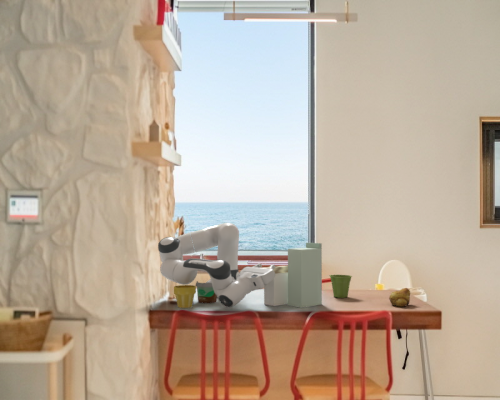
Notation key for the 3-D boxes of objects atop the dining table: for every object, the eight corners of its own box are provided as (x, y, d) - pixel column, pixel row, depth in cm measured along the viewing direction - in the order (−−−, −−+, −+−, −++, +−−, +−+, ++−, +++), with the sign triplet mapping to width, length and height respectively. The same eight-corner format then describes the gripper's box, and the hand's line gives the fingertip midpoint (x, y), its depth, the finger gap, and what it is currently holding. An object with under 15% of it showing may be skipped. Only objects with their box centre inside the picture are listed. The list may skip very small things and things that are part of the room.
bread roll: (409, 308, 239) (409, 291, 239) (387, 307, 242) (387, 290, 242) (410, 304, 251) (410, 287, 251) (390, 302, 254) (390, 286, 254)
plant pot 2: (356, 298, 268) (356, 276, 268) (336, 299, 264) (336, 277, 264) (344, 294, 279) (344, 274, 279) (325, 296, 275) (325, 274, 275)
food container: (191, 302, 253) (191, 282, 254) (196, 300, 259) (196, 281, 259) (213, 304, 249) (214, 283, 249) (219, 302, 255) (219, 282, 255)
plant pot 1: (175, 305, 248) (175, 284, 248) (197, 305, 247) (197, 284, 248) (171, 309, 237) (172, 287, 238) (194, 309, 237) (194, 287, 237)
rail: (263, 274, 243) (263, 268, 243) (259, 274, 245) (259, 267, 245) (293, 271, 256) (293, 265, 256) (289, 271, 258) (289, 265, 258)
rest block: (274, 306, 244) (273, 274, 244) (264, 304, 249) (264, 273, 250) (292, 303, 252) (291, 272, 252) (282, 301, 257) (282, 271, 258)
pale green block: (301, 307, 240) (301, 244, 240) (288, 305, 246) (287, 243, 247) (321, 304, 249) (321, 243, 249) (308, 302, 255) (308, 242, 256)
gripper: (236, 285, 248) (255, 269, 256) (265, 289, 232) (284, 272, 240) (231, 274, 246) (250, 258, 254) (259, 277, 230) (279, 260, 238)
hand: (267, 265), depth 247 cm, fingers open, 8 cm apart
